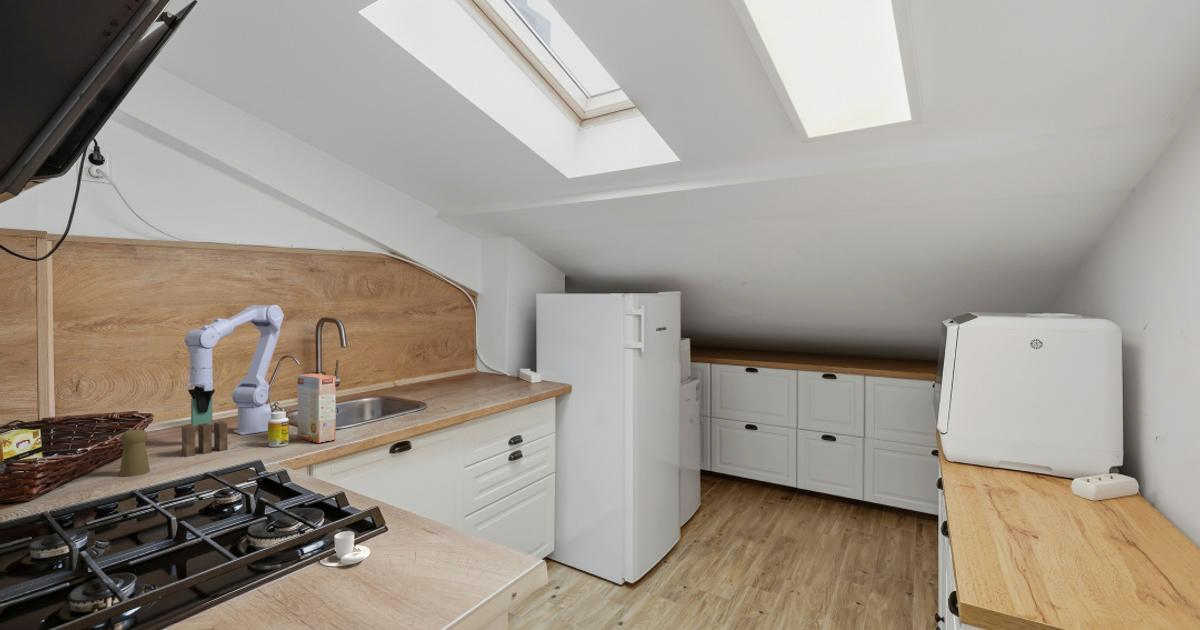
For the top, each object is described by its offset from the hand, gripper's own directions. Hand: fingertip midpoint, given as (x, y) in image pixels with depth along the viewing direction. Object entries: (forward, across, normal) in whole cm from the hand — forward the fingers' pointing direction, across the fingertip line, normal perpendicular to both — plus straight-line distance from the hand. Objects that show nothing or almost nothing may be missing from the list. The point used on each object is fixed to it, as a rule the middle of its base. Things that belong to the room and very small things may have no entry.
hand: (201, 411), depth 171 cm
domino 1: (+10, +11, -6) cm, 16 cm away
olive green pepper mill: (+10, +22, -20) cm, 31 cm away
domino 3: (+10, +11, +2) cm, 15 cm away
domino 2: (+10, +11, -2) cm, 15 cm away
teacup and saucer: (+11, +111, -10) cm, 112 cm away
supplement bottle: (+10, +19, +15) cm, 26 cm away
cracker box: (+10, +20, +26) cm, 34 cm away
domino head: (+4, 0, 0) cm, 4 cm away
